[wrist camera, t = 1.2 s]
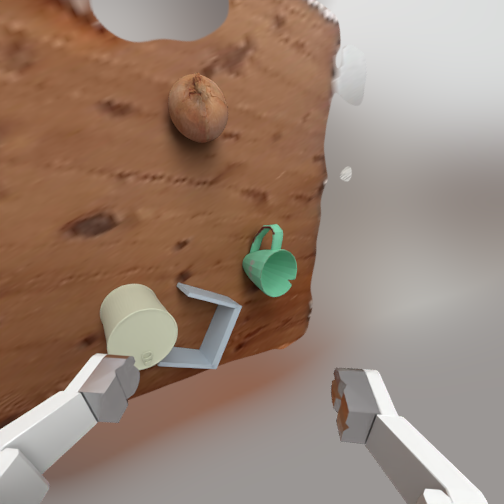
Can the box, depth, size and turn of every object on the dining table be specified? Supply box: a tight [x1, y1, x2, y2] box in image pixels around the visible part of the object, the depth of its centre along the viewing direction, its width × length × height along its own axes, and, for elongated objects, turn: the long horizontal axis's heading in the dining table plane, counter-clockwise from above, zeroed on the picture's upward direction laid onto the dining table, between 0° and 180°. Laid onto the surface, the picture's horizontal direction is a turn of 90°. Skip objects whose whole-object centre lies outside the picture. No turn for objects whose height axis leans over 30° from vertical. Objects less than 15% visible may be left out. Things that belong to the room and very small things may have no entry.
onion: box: [168, 73, 228, 143], centre depth 38 cm, size 10×9×10 cm
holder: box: [157, 283, 242, 369], centre depth 47 cm, size 12×14×6 cm
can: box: [100, 284, 178, 370], centre depth 38 cm, size 9×9×12 cm
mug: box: [243, 224, 297, 297], centre depth 52 cm, size 15×10×10 cm
